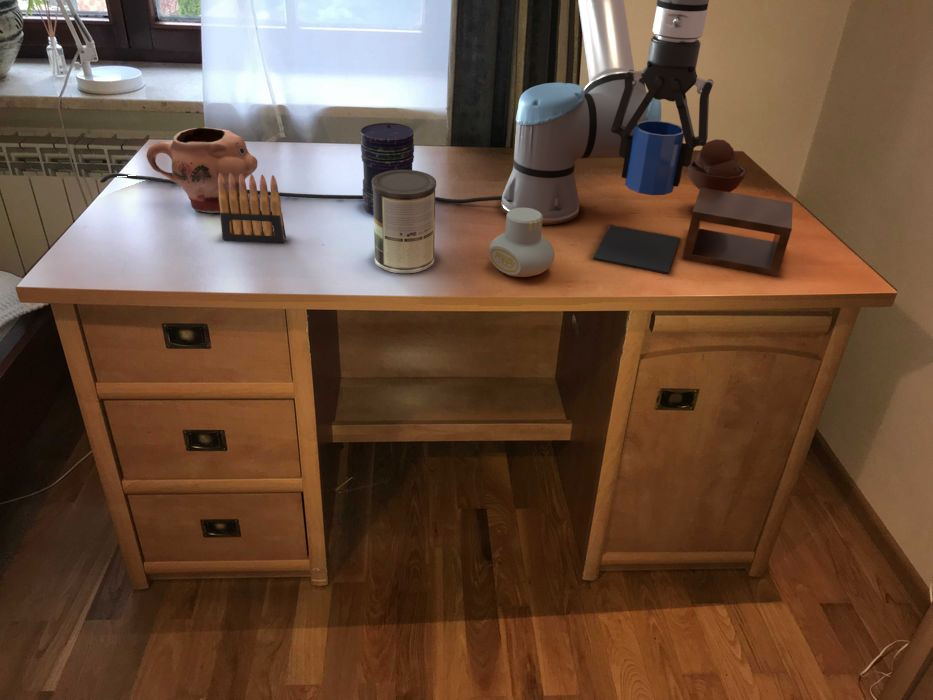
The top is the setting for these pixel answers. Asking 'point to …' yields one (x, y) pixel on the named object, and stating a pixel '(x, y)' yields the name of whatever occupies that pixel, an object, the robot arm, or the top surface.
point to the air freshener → (522, 245)
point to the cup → (654, 157)
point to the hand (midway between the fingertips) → (650, 179)
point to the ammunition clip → (250, 211)
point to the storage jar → (384, 153)
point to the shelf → (734, 247)
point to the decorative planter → (204, 163)
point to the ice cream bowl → (716, 167)
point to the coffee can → (404, 220)
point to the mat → (637, 249)
